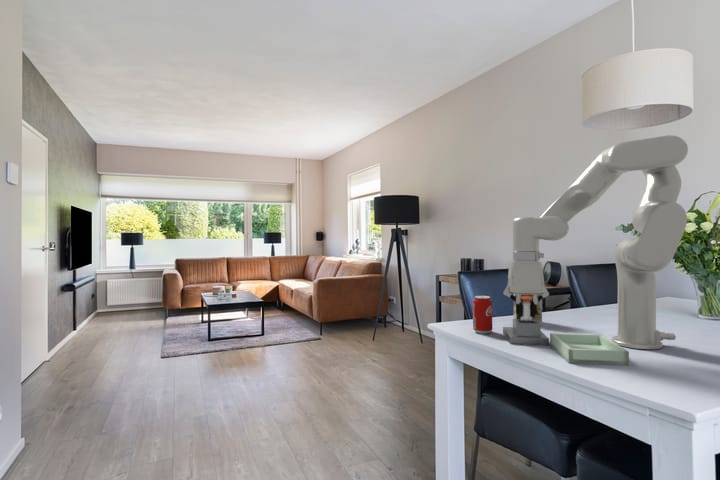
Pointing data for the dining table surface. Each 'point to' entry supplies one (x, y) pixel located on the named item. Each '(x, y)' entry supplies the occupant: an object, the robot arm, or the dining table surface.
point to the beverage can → (482, 314)
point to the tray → (589, 349)
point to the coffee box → (537, 316)
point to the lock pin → (526, 308)
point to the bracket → (525, 333)
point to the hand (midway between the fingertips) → (526, 315)
